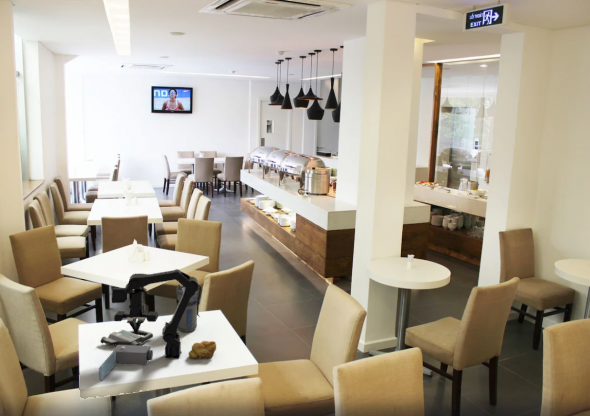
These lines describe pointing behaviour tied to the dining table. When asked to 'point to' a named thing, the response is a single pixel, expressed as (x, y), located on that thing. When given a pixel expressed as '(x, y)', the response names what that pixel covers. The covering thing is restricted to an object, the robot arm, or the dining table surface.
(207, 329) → the dining table surface
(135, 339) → the camcorder
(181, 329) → the beverage bottle
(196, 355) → the bread roll
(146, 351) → the grey block with knob
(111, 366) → the side door
